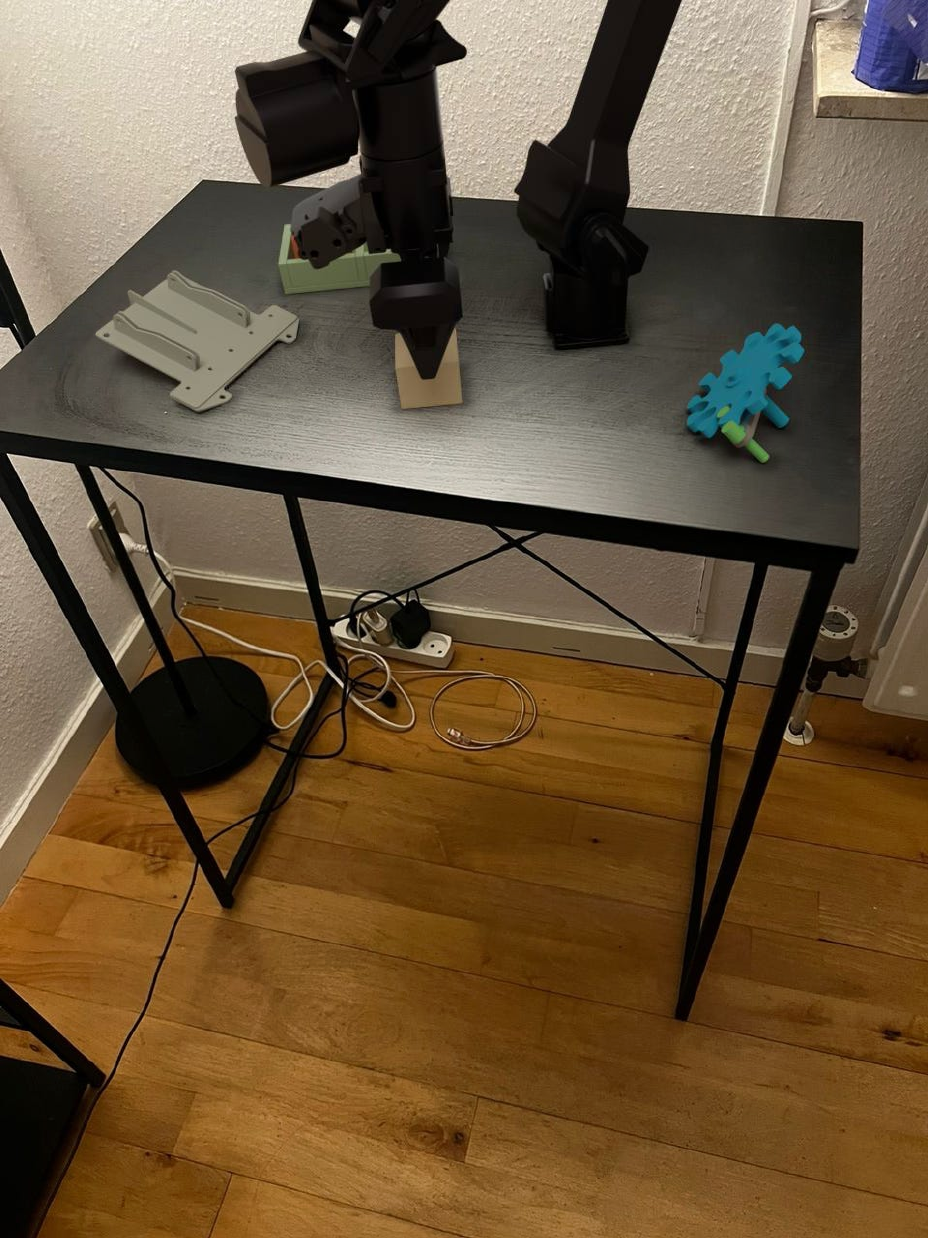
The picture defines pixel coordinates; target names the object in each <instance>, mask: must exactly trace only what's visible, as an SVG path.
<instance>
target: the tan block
mask: <svg viewBox="0 0 928 1238" xmlns="http://www.w3.org/2000/svg"><path fill="white" fill-rule="evenodd" d="M394 338H395V339H394V340H395V341H394V346H395V347H394V348H395V349H394V352H395V354H394V357H395V358H394V362H395V365H394V368H395V374H396V380H397V388H398V393H399V401H400V407H401V409H402V410H409V409H419V408H430V407H439V406H450V405H451V406H452V405H461V404H463V394H462V393H463V392H462V379H461V368H460V367H461V366H460V357H459V346H458V337H457V328H456V327H455V328H454V331H453V333H452V335H451V338H450V340H449V343H448V345H447V348H446V350H445V353H444V356H443V358H442V361H441V364H440V367H439V369H438V372H437V375H436V377H435V378H434V379H428V380H422V379H421V378H420V376H419V373H418V371H417V369H416V366H415V364H414V362H413V360H412V357H411V355H410V353H409V351H408V348H407V346H406V344H405V342H404V340H403V338H402V336H401V334H400V333H399V332H398V333H395V334H394Z"/></svg>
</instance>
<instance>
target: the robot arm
mask: <svg viewBox="0 0 928 1238" xmlns="http://www.w3.org/2000/svg"><path fill="white" fill-rule="evenodd" d="M450 2H451V0H311V3H310V6H309V8H308V12H307V14H306V17H305V19H304V23H303V25H302V27H301V30H300V33H299V36H298V39H297V44H298V47H299V48H301V49H302V50H303V51H304V52H303V51H302V52H300V53H296V54H293V55H289V56H285V57H282V58H278V59H274V60H269V61H265V62H264V61H254V62H248V63H246V64H242V65H237V66H236V67H235V69H234V74H235V79H236V82H237V87H238V89H237V90H236V92H235V100H234V101H235V111H236V115H234V122H235V127H236V130H237V134H238V137H239V141H240V143H241V147H242V149H243V152H244V155H245V157H246V160H247V162H248V164H249V166H250V169H251V171H252V172H253V174H254V176H255V178H256V179H257V181H258V182H259V184H260V185H261V186H262V187H263V188H265V189H267V190H268V189H271V188H274V187H278V186H281V185H284V184H287V183H290V182H294V181H297V180H300V179H304V178H306V177H310V176H312V175H313V176H314V175H317V174H319V173H323V172H326V171H328V170H332V169H335V168H338V167H342V166H346V165H347V164H348V163H350V160H351V158H352V157H354V156H358V155H359V153H360V155H359V156H358V164H359V170H360V173H359V174H358V175H355V176H353V177H350V178H348V179H344V180H341V181H339V182H337V183H335V184H333V185H331V186H329V187H327V188H325V189H322V190H321V191H319V192H317V193H315V194H313V195H311V196H309V197H307V198H305V199H303V200H302V201H300V202H299V203H298V204H297V205H295V206H294V208H293V210H292V215H291V216H292V217H291V221H290V224H291V227H290V232H291V233H292V235H293V239H294V240H295V242H296V244H297V247H298V253H297V254H298V256H299V258H300V259H302V260H308V261H309V262H310V264H311V265H312V267H313V268H314V269H321V268H324V267H326V266H328V265H329V263H330V262H332V261H334V260H336V259H338V258H340V257H342V256H344V255H346V254H347V253H349V252H351V251H353V250H355V249H357V248H359V247H360V246H362V245H363V244H364V243H365V242H366V241H367V246H368V253H369V254H377V253H385V252H386V250H387V249H390V251H391V252H392V253H396V254H399V256H400V259H401V261H398V262H388V263H381V264H380V265H379V266H378V268H377V269H376V270H375V271H374V272H373V274H372V275H371V276H370V286H369V290H368V291H369V292H368V304H369V310H370V314H371V321H372V326H373V327H374V328H376V329H377V330H380V331H383V330H385V331H395V332H398V333H400V334H401V336H402V338H403V340H404V342H405V344H406V346H407V348H408V351H409V353H410V355H411V357H412V360H413V362H414V364H415V366H416V369H417V371H418V373H419V376H420V378H421V379H422V380H428V379H434V378H435V377H436V375H437V372H438V369H439V367H440V364H441V361H442V358H443V356H444V353H445V350H446V348H447V345H448V343H449V340H450V338H451V335H452V333H453V331H454V328H456V325H457V323H458V322H460V320H461V319H462V318H464V313H463V305H462V304H463V301H462V293H461V291H462V290H461V281H460V279H461V278H460V270H459V269H460V268H459V267H458V266H457V265H455V264H454V263H452V261H451V260H449V259H448V258H447V257H448V253H449V250H450V246H451V244H453V243H454V240H453V239H454V238H453V233H454V229H455V228H454V216H455V215H454V207H453V193H452V183H451V178H450V177H449V176H448V174H447V163H446V162H447V161H446V155H445V154H446V153H445V143H444V142H445V139H444V134H443V132H444V131H443V123H442V112H441V100H440V90H439V79H438V69H437V68H438V67H441V66H443V65H447V64H451V63H454V62H457V61H461V60H463V59H465V58H466V57H467V54H468V49H467V47H466V46H465V45H464V44H462V43H461V42H459V41H458V40H457V39H455V37H453V36H452V35H451V34H450V33H449V32H448V31H447V29H446V28H445V26H444V25H443V23H442V22H441V20H440V19H438V17H439V16H440V15H441V14H442V12H443V11H444V10H445V8H446V7H447V6H448V5H449V3H450ZM682 2H683V0H607V2H606V4H605V7H604V11H603V14H602V16H601V20H600V22H599V26H598V29H597V32H596V35H595V38H594V41H593V44H592V47H591V50H590V53H589V56H588V59H587V62H586V65H585V67H584V71H583V73H582V76H581V81H580V83H579V85H578V89H577V91H576V94H575V98H574V101H573V104H572V107H571V109H570V113H569V116H568V119H567V121H566V123H565V125H564V126H563V128H561V130H559V132H557V134H556V135H555V136H554V137H553V138H552V139H551V140H550V141H549V143H547V144H545V143H544V142H542V141H539V140H538V139H535V140H533V141H532V142H531V144H530V146H529V148H528V150H527V155H526V160H525V166H524V169H523V173H522V174H521V178H520V180H519V181H518V183H517V184H516V186H515V188H514V189H513V192H514V194H516V195H517V196H518V200H517V204H516V217H517V218H518V220H519V223H520V225H521V228H522V230H523V231H524V233H525V234H527V235H528V236H529V237H530V238H531V239H532V240H534V241H535V244H536V246H537V249H538V250H540V251H541V252H544V253H545V254H547V255H549V256H548V257H549V258H548V261H549V262H548V264H549V272H548V273H544V274H543V275H542V308H543V312H542V313H543V315H542V316H543V320H544V321H543V322H544V325H545V330H546V332H548V334H549V333H550V334H551V338H552V344H553V347H554V349H556V350H562V349H563V350H564V349H574V348H575V349H576V348H586V347H595V346H606V345H614V344H615V345H616V344H625V343H629V342H630V337H631V334H630V331H629V328H628V325H627V310H628V309H627V308H628V291H629V290H628V289H629V279H630V277H632V276H635V275H637V274H640V273H641V272H642V270H643V267H644V265H645V261H646V258H647V256H648V253H649V245H648V244H647V243H646V242H644V240H642V239H641V237H638V236H637V235H636V234H635V233H634V232H633V231H632V230H630V229H629V228H628V227H627V226H626V225H624V221H625V217H626V212H627V209H628V205H629V201H630V197H631V179H630V163H629V162H630V161H629V146H630V144H631V143H630V142H631V139H632V137H633V134H634V131H635V129H636V126H637V123H638V121H639V118H640V115H641V113H642V110H643V107H644V104H645V101H646V99H647V96H648V93H649V90H650V88H651V85H652V83H653V80H654V78H655V75H656V72H657V69H658V67H659V64H660V62H661V58H662V56H663V54H664V50H665V47H666V45H667V42H668V39H669V36H670V34H671V32H672V29H673V26H674V24H675V20H676V17H677V15H678V13H679V10H680V7H681V4H682ZM351 21H352V22H353V23H355V24H356V25H358V26H359V28H358V31H357V33H356V36H354V35H351V34H350V33H349V32H347V31H345V29H346V28H347V26H348V25H349V23H350V22H351ZM359 151H360V152H359Z"/></svg>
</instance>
